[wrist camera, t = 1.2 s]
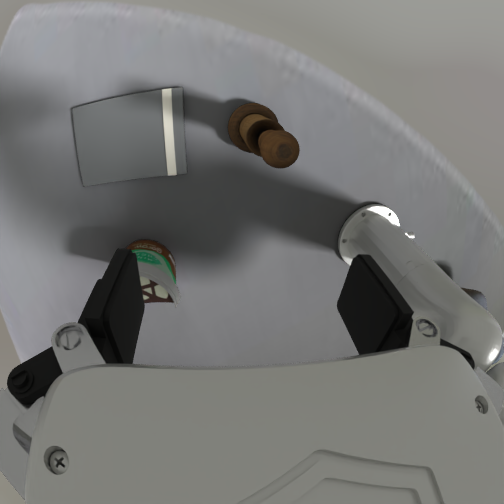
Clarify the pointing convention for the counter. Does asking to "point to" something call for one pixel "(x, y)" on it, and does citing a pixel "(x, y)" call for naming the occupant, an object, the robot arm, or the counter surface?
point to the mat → (131, 137)
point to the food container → (156, 271)
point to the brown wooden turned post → (262, 135)
